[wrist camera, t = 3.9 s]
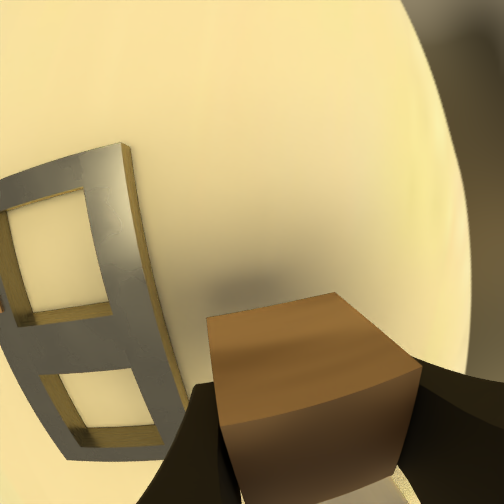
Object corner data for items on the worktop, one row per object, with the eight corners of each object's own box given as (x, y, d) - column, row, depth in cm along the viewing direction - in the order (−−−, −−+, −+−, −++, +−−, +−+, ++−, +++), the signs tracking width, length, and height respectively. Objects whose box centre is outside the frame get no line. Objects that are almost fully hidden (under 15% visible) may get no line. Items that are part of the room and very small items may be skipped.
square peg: (335, 389, 10) (393, 474, 6) (229, 414, 10) (251, 519, 6) (334, 291, 9) (422, 365, 5) (206, 317, 9) (219, 426, 5)
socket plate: (200, 434, 18) (202, 457, 16) (73, 441, 17) (66, 461, 15) (130, 147, 14) (119, 141, 12) (-21, 194, 12) (-43, 197, 10)
